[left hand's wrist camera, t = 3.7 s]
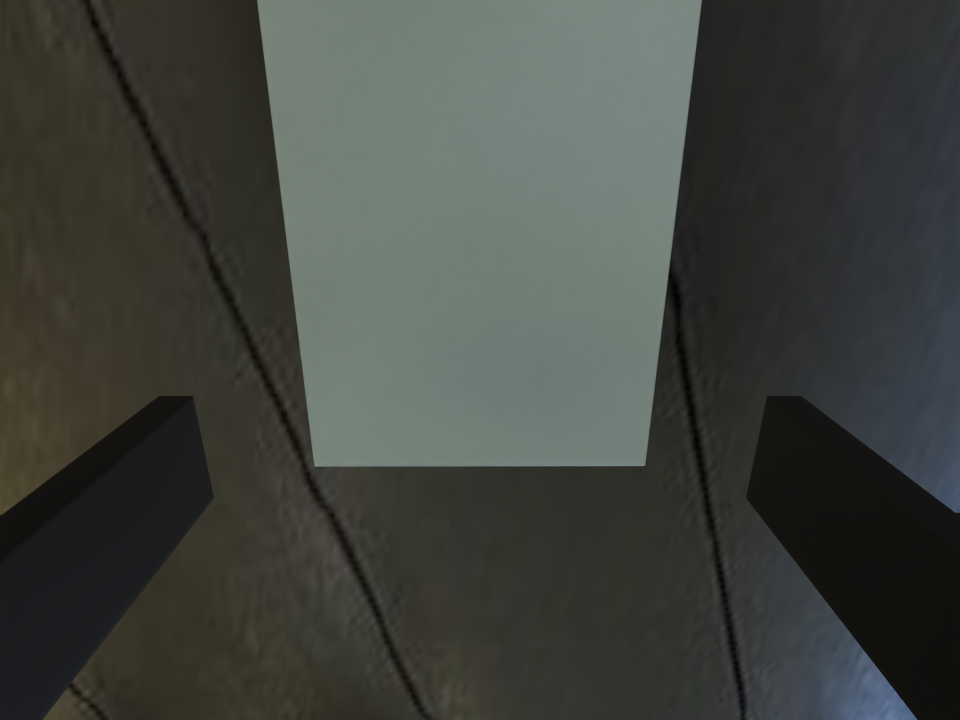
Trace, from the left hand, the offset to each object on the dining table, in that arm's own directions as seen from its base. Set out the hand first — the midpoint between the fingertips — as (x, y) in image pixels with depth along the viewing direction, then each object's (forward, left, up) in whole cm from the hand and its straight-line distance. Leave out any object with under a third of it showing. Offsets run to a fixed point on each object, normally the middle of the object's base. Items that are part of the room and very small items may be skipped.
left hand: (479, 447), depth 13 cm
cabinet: (+2, +5, -16) cm, 17 cm away
